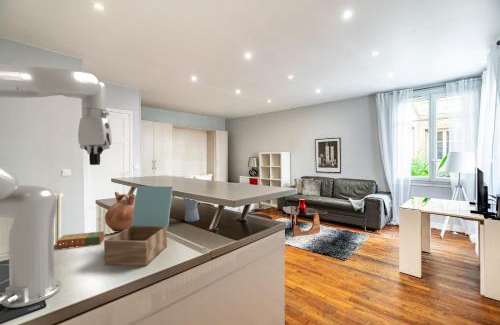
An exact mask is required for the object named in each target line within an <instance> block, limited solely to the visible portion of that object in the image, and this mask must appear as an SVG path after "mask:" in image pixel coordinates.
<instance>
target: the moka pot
mask: <svg viewBox="0 0 500 325" xmlns="http://www.w3.org/2000/svg"><path fill="white" fill-rule="evenodd" d="M182 199H183V204H184V206H185V211H184V212H185V213H184V222H186V221H187V222H186V223H193V222H198V221H199V220H200V214H199V211H198V210H199V209H198V206H200V205H201V202H199V200H198V201H195V200H190V199H185V198H183V197H182Z"/></svg>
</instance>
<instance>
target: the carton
mask: <svg viewBox="0 0 500 325" xmlns="http://www.w3.org/2000/svg"><path fill="white" fill-rule="evenodd" d="M104 238H105V231H103V230H102V231H93V232H85V233H84V232H83V233H72V234H71V233H70V234H64V235H62V236H61V237H59V238H58V239H57V241H56V250H63V249H62V248H66V249H70V248H69V247H74V248H77V247H76V246H83V247H90V246H89V245H92V246H99V245H101V244H102V242H104ZM72 241H73V242H72ZM63 243H64V244H63ZM59 244H61V245H59Z"/></svg>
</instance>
